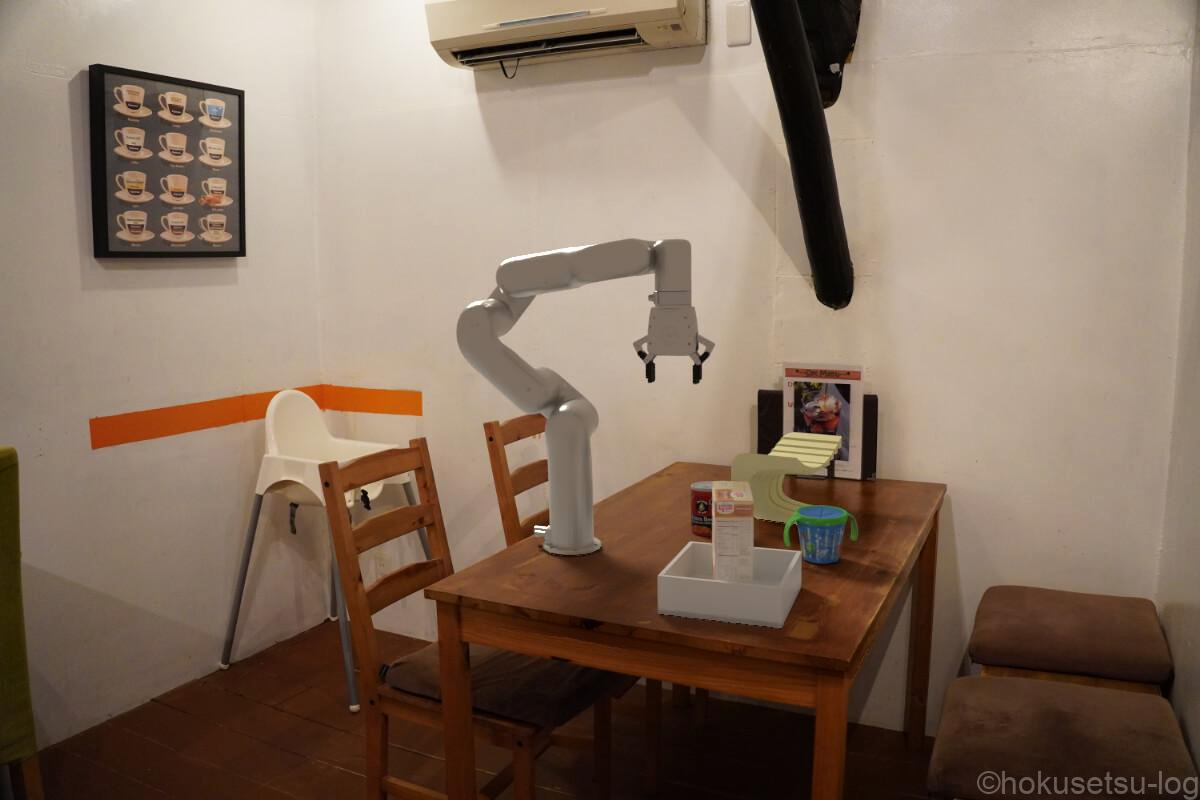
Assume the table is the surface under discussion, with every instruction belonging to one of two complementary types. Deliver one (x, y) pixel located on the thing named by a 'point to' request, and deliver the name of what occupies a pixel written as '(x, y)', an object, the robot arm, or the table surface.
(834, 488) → the table surface
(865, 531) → the table surface
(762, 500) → the slatted curved stool
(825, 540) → the snack cup
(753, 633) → the table surface
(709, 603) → the bin
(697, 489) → the canned food
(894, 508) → the table surface
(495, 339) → the robot arm
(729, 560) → the coffeecake box
